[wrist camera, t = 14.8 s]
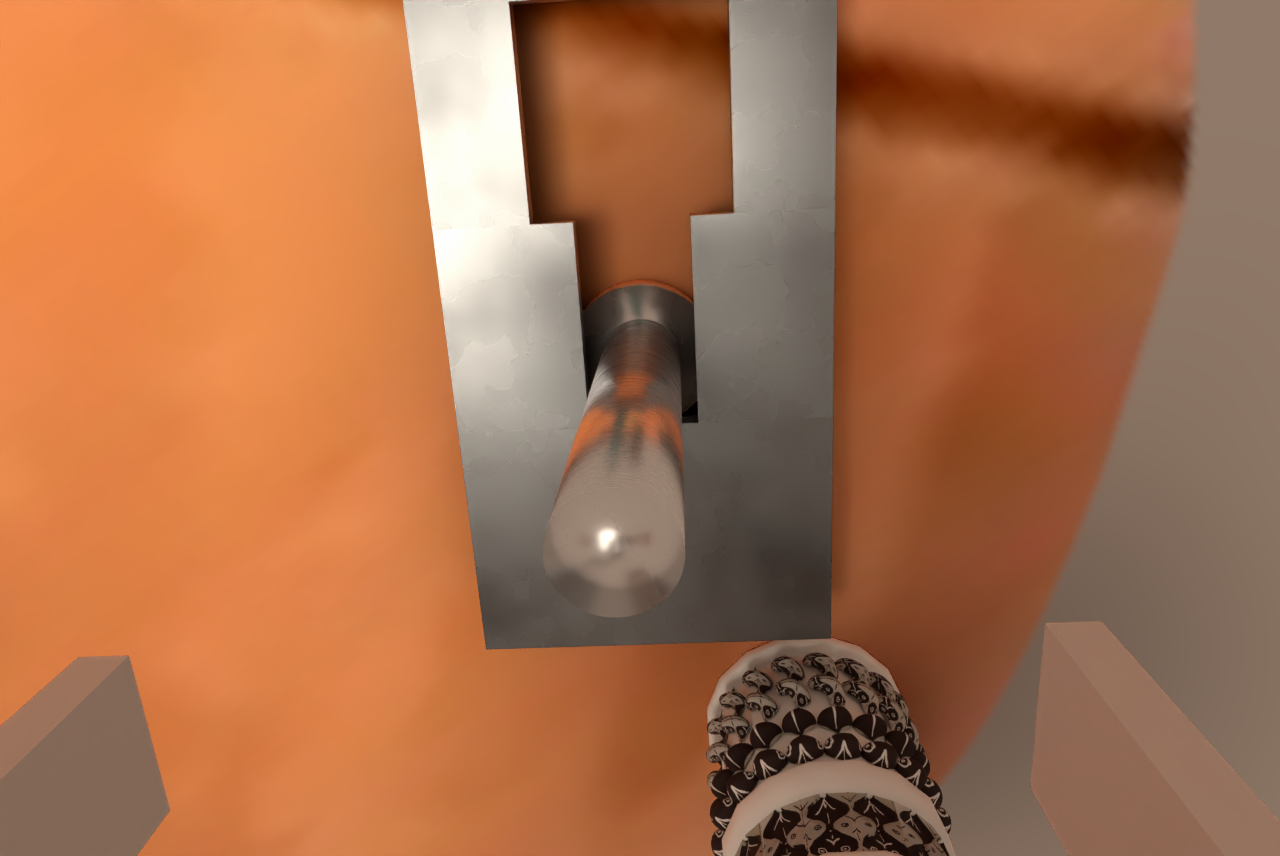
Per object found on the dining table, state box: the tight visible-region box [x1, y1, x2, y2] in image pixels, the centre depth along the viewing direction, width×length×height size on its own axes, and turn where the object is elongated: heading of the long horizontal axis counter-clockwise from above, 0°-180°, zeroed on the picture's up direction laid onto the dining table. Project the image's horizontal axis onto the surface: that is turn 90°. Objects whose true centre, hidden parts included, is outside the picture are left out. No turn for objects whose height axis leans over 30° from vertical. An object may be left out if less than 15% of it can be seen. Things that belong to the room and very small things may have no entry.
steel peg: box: [542, 280, 697, 618], centre depth 26 cm, size 5×5×17 cm
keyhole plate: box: [403, 0, 837, 649], centre depth 31 cm, size 26×13×3 cm, turn 3°
